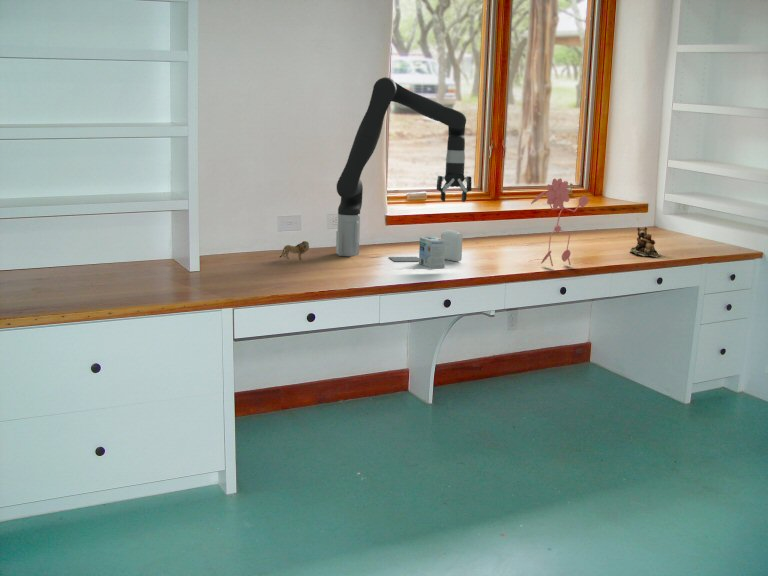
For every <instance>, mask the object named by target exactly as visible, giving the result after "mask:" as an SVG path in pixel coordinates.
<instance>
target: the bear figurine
mask: <svg viewBox="0 0 768 576" xmlns="http://www.w3.org/2000/svg"><path fill="white" fill-rule="evenodd" d="M636 230H637V236H638V237H637V238H636V241H637V244H636V245H635V246H634V247H633V246H632V247H631V248H630V249H629V253H630V252H631V253H634V254H635V255H640V256H642V257H649V256H650V257H654V258H657V257H661V254H660V253H659V252H658V250H656V248H655V245H656V241H655V240H654V239H652V233H647V231H648V227H646V226H645V227H644V228H643V227H642V228H640V227H637V229H636ZM658 253H659V254H660V255H659V254H658Z"/></svg>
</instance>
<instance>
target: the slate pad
mask: <svg viewBox="0 0 768 576" xmlns="http://www.w3.org/2000/svg"><path fill="white" fill-rule="evenodd" d="M388 259H389V260H391V261H393V262H394V263H409V262H410V263H417V262H418V263H419V256H418V257H417V256H388Z"/></svg>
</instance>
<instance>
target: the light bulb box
mask: <svg viewBox="0 0 768 576" xmlns="http://www.w3.org/2000/svg"><path fill="white" fill-rule="evenodd" d="M445 246H446V240H443V239H441V238H440V237H436V236H422V237H421V236H420V237H419V248H418V249H419V251H418V254H419V255H418V258H419V262H418V264H419V265H422V266H425V267H428V268H429V269H430V268H433V269H435V268H445V266H446V265H445V264H446V263H445V261H446V259H445Z"/></svg>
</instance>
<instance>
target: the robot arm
mask: <svg viewBox="0 0 768 576" xmlns="http://www.w3.org/2000/svg"><path fill="white" fill-rule="evenodd" d="M391 102H394V103H397V104H400V105H402V106H405V107H407V108H409V109H411V110H412V111H414V112H416V113H418V114H420V115H422V116H424V117H426V118H429V119H431V120H433V121H435V122H439V123H441V124H443V125H445V126H447V127H448V128H447V129H448V135H447V136H448V138H447V146H446V147H447V149H446V156H445V175H437V181H436V191H439V192H440V201H441V202H443V203H445V202H446V191H448V189H449V188H450V187H451V188H452V187H453V188H455V187H456V188H460V190H461V191H462V192H461V202H463V203H466V201H467V194H468V193H469V192H471V191H472V176H471V175H468V176H465V161H466V154H465V151H466V150H465V149H466V140H465V139H466V138H465V135H466V134H465V133H466V124H467V116H466V115H465V114H464V113H463V112H461V111H458V110H456V109H454V108H451V107H448V106H445V105H444V104H443V103H440V102H438V101H435V100H433V99H431V98H429V97H426V96H424V95H420V94H418V93H416V92H413V91H412V90H409V89H407V88H405V87H403V86H402V85H400V84H399V83H397V82H396V81H395V80H393V78H390V77H387V76H385V77H382V78H378V79H377V81H375V83H374V85H373V87H372V92H371V97H370V100H369V103H368V107H367V109H366V112H365V114H364V116H363V117H362V120H361V122H360V124H359V127H358V129H357V131H356V134H355V137H354V140H353V143H352V145H351V149H350V152H349V154H348V159H347V160H346V163H345V166H344V168H343V170H342V172H341V174H340V176H339V178H338V181H336V192H337V194H338V196H340V203H339V206H338V208H337V231H336V232H335V233H336V234H335V236H336V237H335V244H336V245H335V254H336V255H337V256H339V257H356V256H360V234H361V231H360V229H361V228H360V227H361V210H362V205H363V193H364V192H363V189H364V188H363V182H362V180H361V175H362V172H363V170H364V168H365V166H366V164H368V161H369V160H370V159H371V157H372V155H373V154H374V152H375V149H376V148H377V144H378V142H379V139H380V136H381V134H382V133H381V132H382V129H383V125H384V119H385V116H386V113H387V111H388V109H389V106H390V104H391ZM444 181H445V183H444V184H443V182H444ZM464 181H465V182H466V187H465V184H464V183H463V182H464ZM442 185H443V186H442Z"/></svg>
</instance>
